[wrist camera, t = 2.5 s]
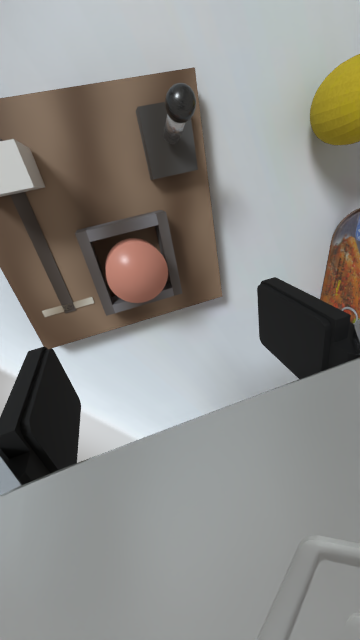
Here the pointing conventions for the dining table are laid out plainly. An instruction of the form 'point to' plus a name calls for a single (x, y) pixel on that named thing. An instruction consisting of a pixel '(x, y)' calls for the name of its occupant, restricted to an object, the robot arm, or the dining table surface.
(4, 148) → the block
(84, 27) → the dining table surface
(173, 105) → the toggle lever
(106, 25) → the dining table surface
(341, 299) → the tin
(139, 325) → the dining table surface
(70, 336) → the control board
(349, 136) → the lemon
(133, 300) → the push button
